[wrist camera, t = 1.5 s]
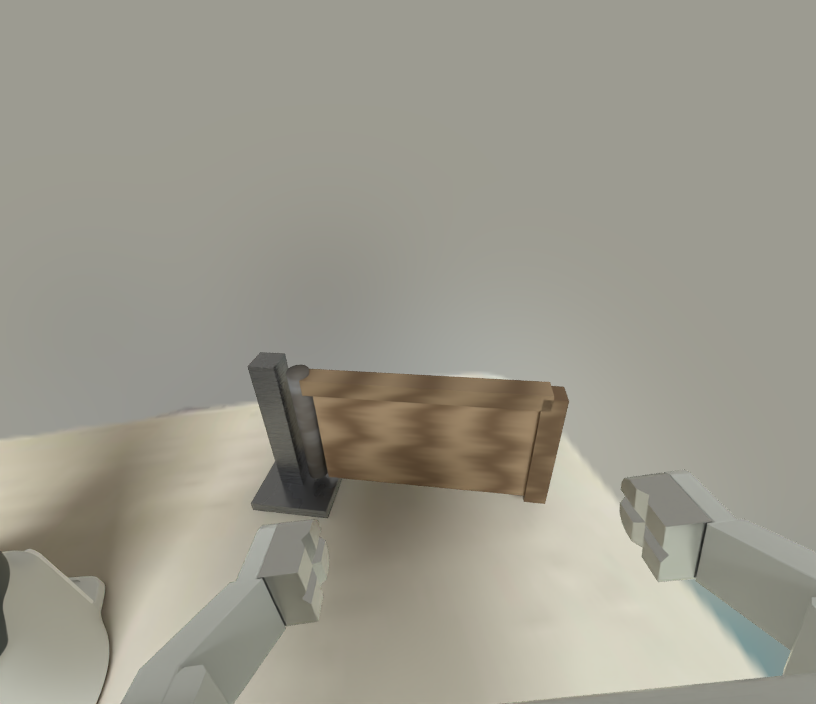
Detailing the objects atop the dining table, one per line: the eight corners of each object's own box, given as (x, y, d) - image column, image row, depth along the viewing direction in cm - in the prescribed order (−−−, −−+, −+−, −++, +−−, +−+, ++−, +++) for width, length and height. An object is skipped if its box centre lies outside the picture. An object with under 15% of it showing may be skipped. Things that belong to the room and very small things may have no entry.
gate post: (253, 509, 39) (206, 383, 31) (285, 452, 46) (253, 337, 38) (327, 518, 38) (299, 389, 30) (349, 458, 45) (331, 340, 37)
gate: (307, 480, 40) (282, 376, 34) (313, 466, 42) (291, 364, 35) (544, 503, 37) (570, 393, 30) (541, 487, 39) (565, 379, 32)
